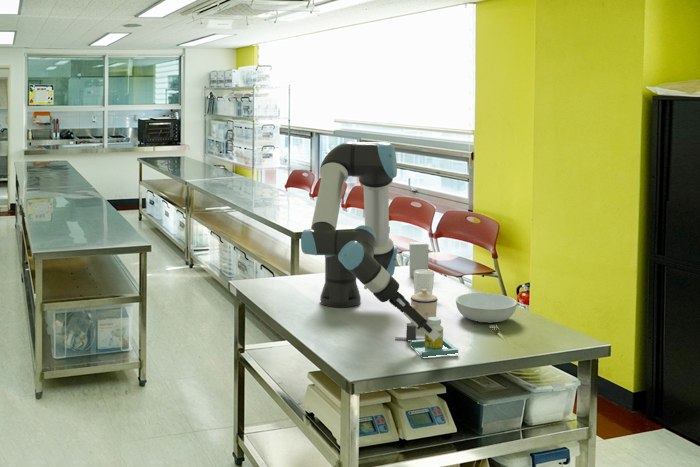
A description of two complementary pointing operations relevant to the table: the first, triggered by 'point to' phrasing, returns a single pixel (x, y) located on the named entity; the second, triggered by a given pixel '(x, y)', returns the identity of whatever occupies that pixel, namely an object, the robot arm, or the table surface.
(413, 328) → the clip posts
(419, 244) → the skincare box
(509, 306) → the serving bowl
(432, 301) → the teacup with lid
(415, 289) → the white cup
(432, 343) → the supplement bottle
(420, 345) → the open-sided tray holder
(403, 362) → the table surface
